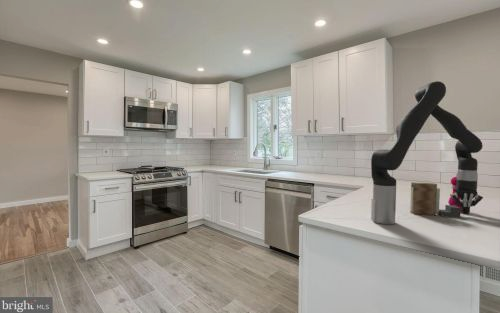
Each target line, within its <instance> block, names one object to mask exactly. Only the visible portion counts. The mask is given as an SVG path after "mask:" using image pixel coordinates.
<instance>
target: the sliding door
mask: <svg viewBox="0 0 500 313" xmlns="http://www.w3.org/2000/svg"><path fill="white" fill-rule="evenodd" d="M440 193H441V189H440V188H438V187H437V199H436V213H439V209H440V199H441V198H440V197H441V196H440V195H441V194H440ZM410 208H411V211H412V212H413V187H412V195H411V194H410Z"/></svg>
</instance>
